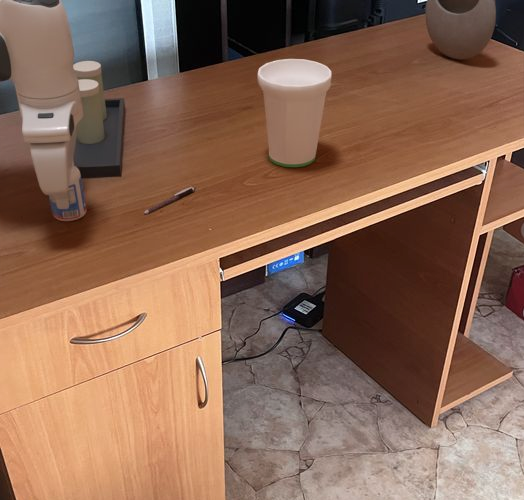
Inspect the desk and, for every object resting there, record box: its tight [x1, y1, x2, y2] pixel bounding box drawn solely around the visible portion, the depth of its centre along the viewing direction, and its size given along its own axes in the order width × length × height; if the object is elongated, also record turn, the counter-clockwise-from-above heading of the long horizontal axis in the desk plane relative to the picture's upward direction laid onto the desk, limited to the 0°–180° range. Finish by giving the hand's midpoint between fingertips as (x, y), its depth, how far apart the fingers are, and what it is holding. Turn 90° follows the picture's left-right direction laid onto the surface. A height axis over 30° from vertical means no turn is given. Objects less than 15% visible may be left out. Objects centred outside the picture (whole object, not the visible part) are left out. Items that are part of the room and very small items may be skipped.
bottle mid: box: [76, 79, 105, 144], centre depth 141 cm, size 5×5×10 cm
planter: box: [425, 0, 497, 61], centre depth 172 cm, size 18×7×19 cm, turn 39°
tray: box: [73, 97, 126, 179], centre depth 144 cm, size 12×29×2 cm, turn 6°
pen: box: [143, 186, 197, 215], centre depth 128 cm, size 11×1×1 cm, turn 137°
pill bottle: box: [48, 157, 87, 222], centre depth 122 cm, size 6×5×10 cm
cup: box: [257, 58, 333, 168], centre depth 136 cm, size 12×12×15 cm
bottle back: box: [73, 60, 107, 120], centre depth 148 cm, size 5×5×10 cm
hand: (66, 191), depth 123 cm, fingers open, 8 cm apart
